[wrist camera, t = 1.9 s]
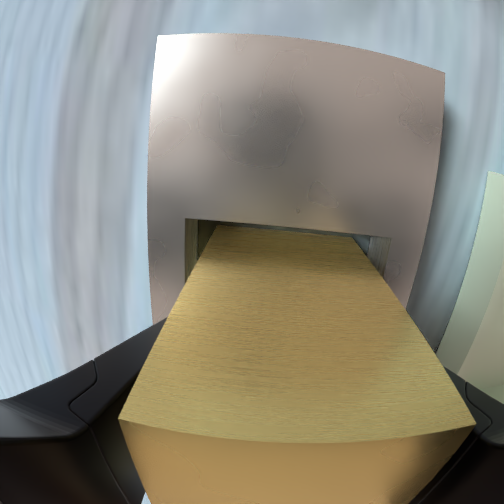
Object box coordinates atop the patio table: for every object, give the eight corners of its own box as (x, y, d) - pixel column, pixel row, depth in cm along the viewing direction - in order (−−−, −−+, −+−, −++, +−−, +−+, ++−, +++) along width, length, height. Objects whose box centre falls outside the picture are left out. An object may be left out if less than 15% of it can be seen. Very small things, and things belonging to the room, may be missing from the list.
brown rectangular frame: (418, 80, 8) (444, 72, 7) (336, 434, 14) (341, 461, 12) (175, 51, 8) (158, 35, 7) (178, 422, 14) (170, 449, 12)
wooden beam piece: (351, 237, 10) (476, 424, 3) (328, 346, 12) (367, 538, 4) (217, 224, 10) (117, 418, 3) (213, 337, 12) (166, 533, 5)
